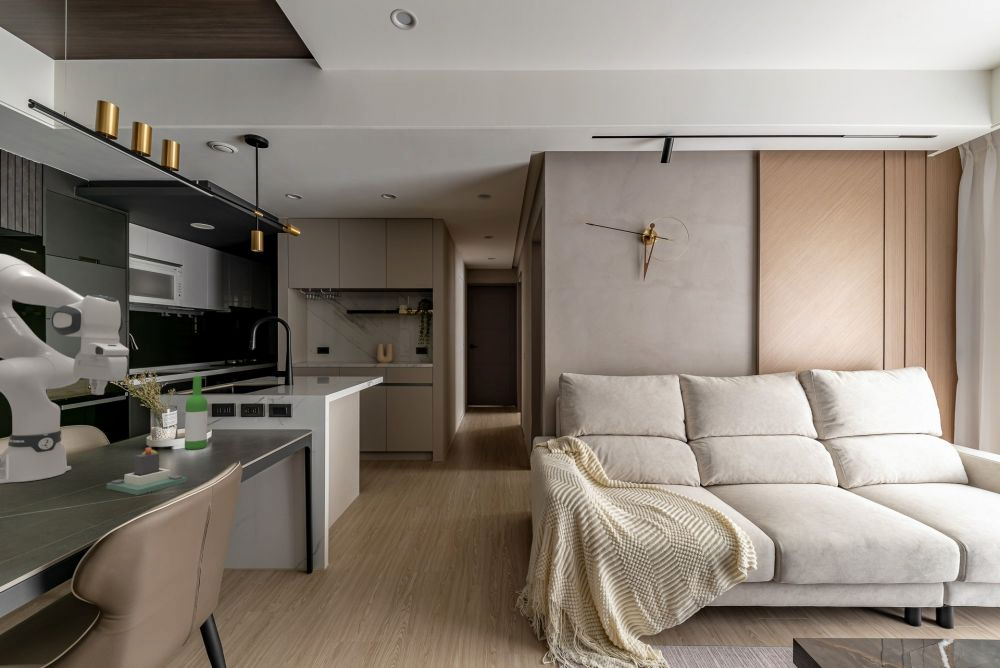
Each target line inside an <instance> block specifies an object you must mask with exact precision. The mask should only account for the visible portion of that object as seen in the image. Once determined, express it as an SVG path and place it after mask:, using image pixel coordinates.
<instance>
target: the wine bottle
mask: <svg viewBox="0 0 1000 668" xmlns="http://www.w3.org/2000/svg"><path fill="white" fill-rule="evenodd" d="M202 377H203V376H202V375H194V376H193V377H192V379H193V380H192V395H191V396H190V397H189V398H188V399H187V400H186V402H185V412H184V413H185V415H184V419H185V420H184V449H186V450H188V451H190V450H192V451H193V450H200V449H202V450H203V449H204V448H206V447H207V444H208V443H207V441H208V400H207V398H206V397H205V396H203V395H202V382H203V381H202Z"/></svg>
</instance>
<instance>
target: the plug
mask: <svg viewBox="0 0 1000 668" xmlns="http://www.w3.org/2000/svg"><path fill="white" fill-rule="evenodd" d="M151 449H152V447H149V446H148V447H145V451H146V453H145V454H142V453H141V454H136V455H134V459H133V473H134V475H137V476H143V475H148V474H152V473H156V472H159V468H160V453H158V452H157V453H153V452H151Z"/></svg>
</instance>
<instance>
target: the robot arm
mask: <svg viewBox="0 0 1000 668" xmlns="http://www.w3.org/2000/svg"><path fill="white" fill-rule="evenodd" d="M13 303H21V304H28V305H33V306H34V305H35V306H44V307H52V308H57V309H55V310H54V312H53V313H52V316H51V326H52V327H53V330H54V331H55V332H56V333H57V334H58V335H60V336H65V337H73V338H77V337H78V338H79V337H81V341H80V349H79V351H78V353H76V355H75V357H74V358H72V357H69V356H67V355H65V354H63V353H61V352H59V351H57V350H56V349H54V348H53V347H52V346H50V345H48V344H47V343H46V342H44V341H43V340H41V338H39V337H38V336H37V335H36V334H35V333H34V332H33V331H32V329H31V328H30V327H29V326H28V324H26V322H25V321H24V320H23V319H22V318H21V317H20V315H19V314H18V313H17V312H16V311H15V310H14V308H13V307H14V306H13ZM124 327H125V318H124V315H122V313H121V305H120V301H119V300H118V299H116V298H115V297H111V296H107V295H102V294H92V293H91V294H88V295H87V294H86V296H85V295H83V294H81V293H79V292H78V291H75V290H74V289H71V288H69V287H68V286H65V285H63V284H62V283H60V282H59V281H57V280H54V278H53V279H52V278H51V277H50V276H48V275H46V274H44V273H43V272H41V271H40V270H37V269H36V268H34V267H33V266H31V264H29V263H27V262H25V261H23V260H22V259H18V258H17V257H14V256H12V255H9V254H5V253H0V358H1V359H2V360H0V393H1V394H3V395H4V397H5V398H6V399H7V401H8V403H9V405H10V410H11V416H12V417H11V418H12V421H11V422H12V433H11V434H10V435H9V438H8V444H7V445H8V447H7V448H5V450H4V451H3V452H2V453H1V454H0V484H6V483H8V484H9V483H21V482H31V481H37V480H38V481H39V480H43V479H44V480H45V479H48V478H53V477H57V476H60V475H63V474H65V473H66V472H67V471H70V470H72V466H71V465H67V464H68V463H67V450H66V446H65V445H64V444H62V443H61V442H62V437H63V434H62V430H60V429H61V428H60V427H61V407H60V406H59V405H58V403H57V404H56V403H55V402H52V401H51V400H50V398H49V397H48V394H47V390H53V389H60V388H64V387H68V386H70V385H73V384H76V383H77V382H78V381H80V379H87V380H88V379H89V381H88V382H89V386H90V388H91V394H92V395H96V396H100V395H101V396H102V395H104V394H105V388H106V386H107V385H108V382H122V381H124V380H125V379H126V376H127V371H128V357H127V356H129V354H130V353H129V352H130V349H129V348H128V347H126V346H125V345H123V344H122V343H121V342H120V335H119V334H120V333H122V331H123V330H124Z"/></svg>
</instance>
